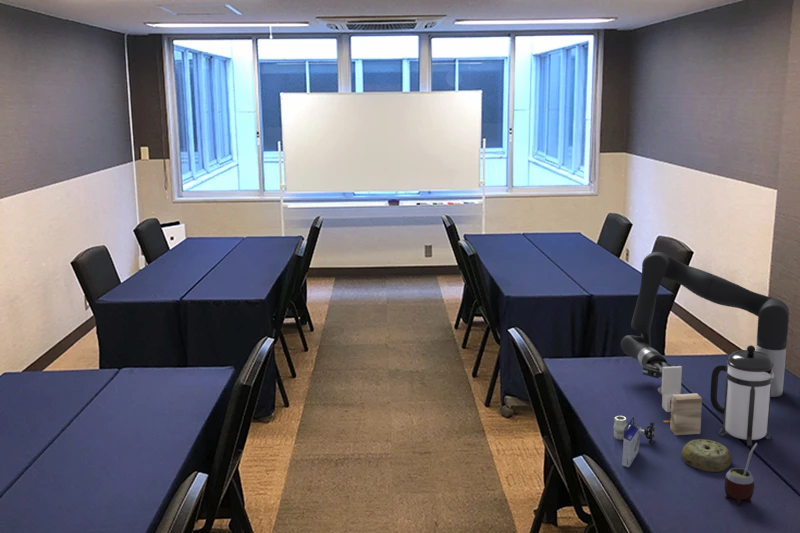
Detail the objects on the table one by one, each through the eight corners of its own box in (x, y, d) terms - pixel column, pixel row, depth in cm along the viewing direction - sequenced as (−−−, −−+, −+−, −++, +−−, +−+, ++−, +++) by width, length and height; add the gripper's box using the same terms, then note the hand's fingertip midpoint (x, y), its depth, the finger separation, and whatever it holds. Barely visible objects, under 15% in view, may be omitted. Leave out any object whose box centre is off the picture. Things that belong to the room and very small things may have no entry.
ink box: (629, 468, 211) (630, 431, 209) (621, 466, 212) (622, 430, 210) (640, 451, 221) (641, 416, 218) (632, 449, 222) (633, 414, 219)
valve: (611, 440, 228) (651, 447, 223) (611, 421, 227) (652, 427, 221) (615, 431, 234) (654, 438, 229) (615, 412, 232) (655, 418, 227)
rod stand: (648, 404, 252) (649, 372, 249) (671, 403, 252) (672, 371, 249) (675, 435, 230) (676, 399, 227) (700, 433, 230) (702, 398, 227)
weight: (739, 472, 206) (740, 456, 205) (691, 474, 207) (692, 458, 206) (719, 450, 220) (720, 434, 218) (674, 451, 220) (675, 436, 219)
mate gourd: (724, 504, 191) (727, 452, 188) (723, 489, 198) (726, 439, 195) (755, 509, 188) (759, 456, 185) (753, 494, 195) (757, 442, 192)
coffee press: (767, 427, 232) (774, 338, 225) (774, 450, 217) (782, 356, 210) (708, 421, 238) (713, 334, 231) (711, 444, 223) (717, 351, 216)
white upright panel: (660, 406, 243) (662, 366, 240) (678, 405, 243) (680, 366, 240) (665, 411, 239) (667, 371, 236) (683, 410, 239) (685, 370, 236)
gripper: (633, 351, 257) (651, 370, 240) (670, 349, 257) (691, 367, 240) (632, 371, 259) (650, 391, 242) (669, 369, 259) (690, 389, 242)
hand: (670, 379), depth 241 cm, fingers closed
